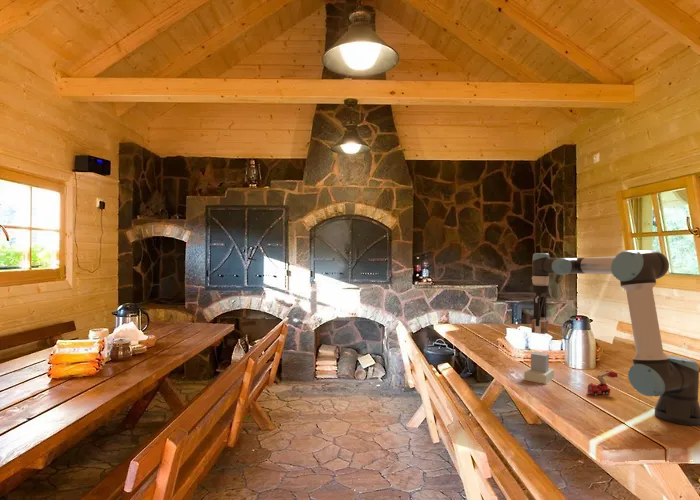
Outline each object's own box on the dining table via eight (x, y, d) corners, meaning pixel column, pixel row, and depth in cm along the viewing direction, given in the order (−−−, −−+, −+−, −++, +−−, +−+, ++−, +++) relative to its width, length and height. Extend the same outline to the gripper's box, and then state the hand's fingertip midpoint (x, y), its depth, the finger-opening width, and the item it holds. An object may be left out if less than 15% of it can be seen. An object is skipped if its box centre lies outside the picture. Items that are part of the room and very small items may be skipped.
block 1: (544, 334, 215) (544, 321, 215) (531, 332, 219) (531, 320, 219) (548, 332, 220) (548, 320, 220) (535, 330, 224) (535, 318, 224)
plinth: (545, 384, 211) (546, 375, 211) (524, 379, 218) (524, 371, 218) (553, 377, 222) (554, 368, 222) (533, 373, 229) (533, 365, 229)
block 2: (545, 372, 216) (546, 356, 216) (530, 370, 220) (530, 353, 220) (548, 370, 220) (548, 354, 219) (533, 367, 224) (533, 351, 224)
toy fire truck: (586, 393, 198) (586, 372, 198) (611, 391, 202) (611, 369, 202) (592, 396, 195) (592, 374, 195) (617, 393, 199) (617, 371, 199)
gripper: (538, 282, 229) (537, 327, 229) (526, 285, 214) (525, 333, 215) (553, 283, 224) (553, 329, 225) (542, 286, 210) (542, 335, 210)
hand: (539, 331), depth 220 cm, fingers closed on block 1, 6 cm apart
